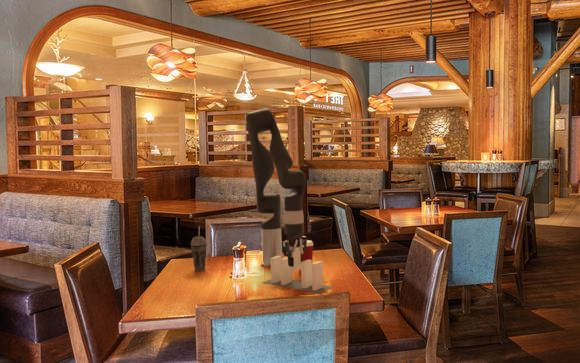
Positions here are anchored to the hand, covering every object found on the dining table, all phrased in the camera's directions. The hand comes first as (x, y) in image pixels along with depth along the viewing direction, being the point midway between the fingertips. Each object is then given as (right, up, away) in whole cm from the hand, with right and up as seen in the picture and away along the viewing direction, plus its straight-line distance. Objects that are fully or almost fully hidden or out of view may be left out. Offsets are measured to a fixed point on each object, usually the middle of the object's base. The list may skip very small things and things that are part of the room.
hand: (295, 264), depth 200 cm
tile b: (-3, -8, +4) cm, 9 cm away
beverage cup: (-43, -8, +33) cm, 55 cm away
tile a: (-7, -8, +7) cm, 13 cm away
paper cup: (+4, -7, +19) cm, 21 cm away
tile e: (+8, -8, -5) cm, 13 cm away
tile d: (+5, -8, -2) cm, 10 cm away
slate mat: (+1, -9, +1) cm, 9 cm away
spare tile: (0, -2, 0) cm, 2 cm away
